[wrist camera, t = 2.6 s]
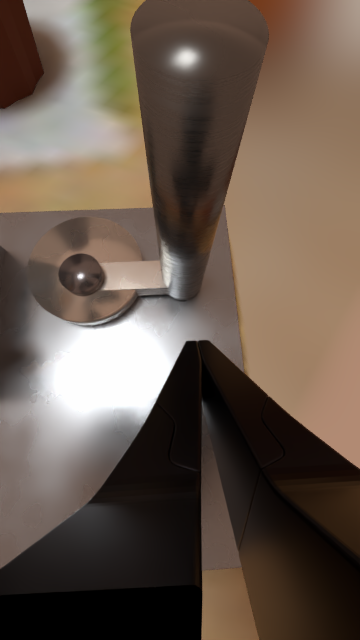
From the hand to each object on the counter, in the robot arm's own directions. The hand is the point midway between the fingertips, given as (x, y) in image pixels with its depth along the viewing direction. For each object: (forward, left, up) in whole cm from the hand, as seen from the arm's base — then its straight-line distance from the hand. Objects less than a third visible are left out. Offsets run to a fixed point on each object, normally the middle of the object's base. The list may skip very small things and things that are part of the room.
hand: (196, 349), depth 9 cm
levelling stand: (0, +5, -8) cm, 9 cm away
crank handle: (+6, +4, -6) cm, 10 cm away
